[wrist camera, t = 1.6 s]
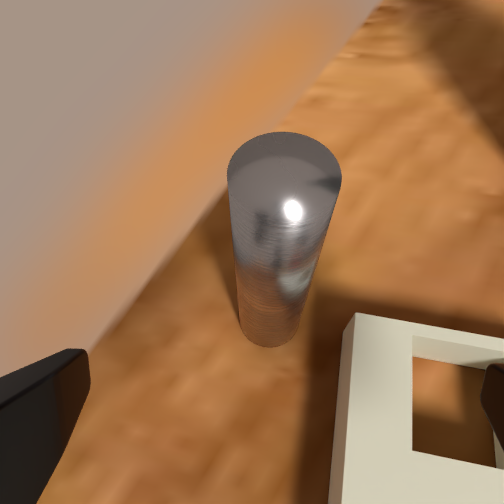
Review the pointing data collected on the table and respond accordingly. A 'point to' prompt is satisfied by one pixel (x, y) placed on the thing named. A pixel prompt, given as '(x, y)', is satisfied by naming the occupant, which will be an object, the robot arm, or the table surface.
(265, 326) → the peg
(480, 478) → the socket board
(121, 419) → the table surface
